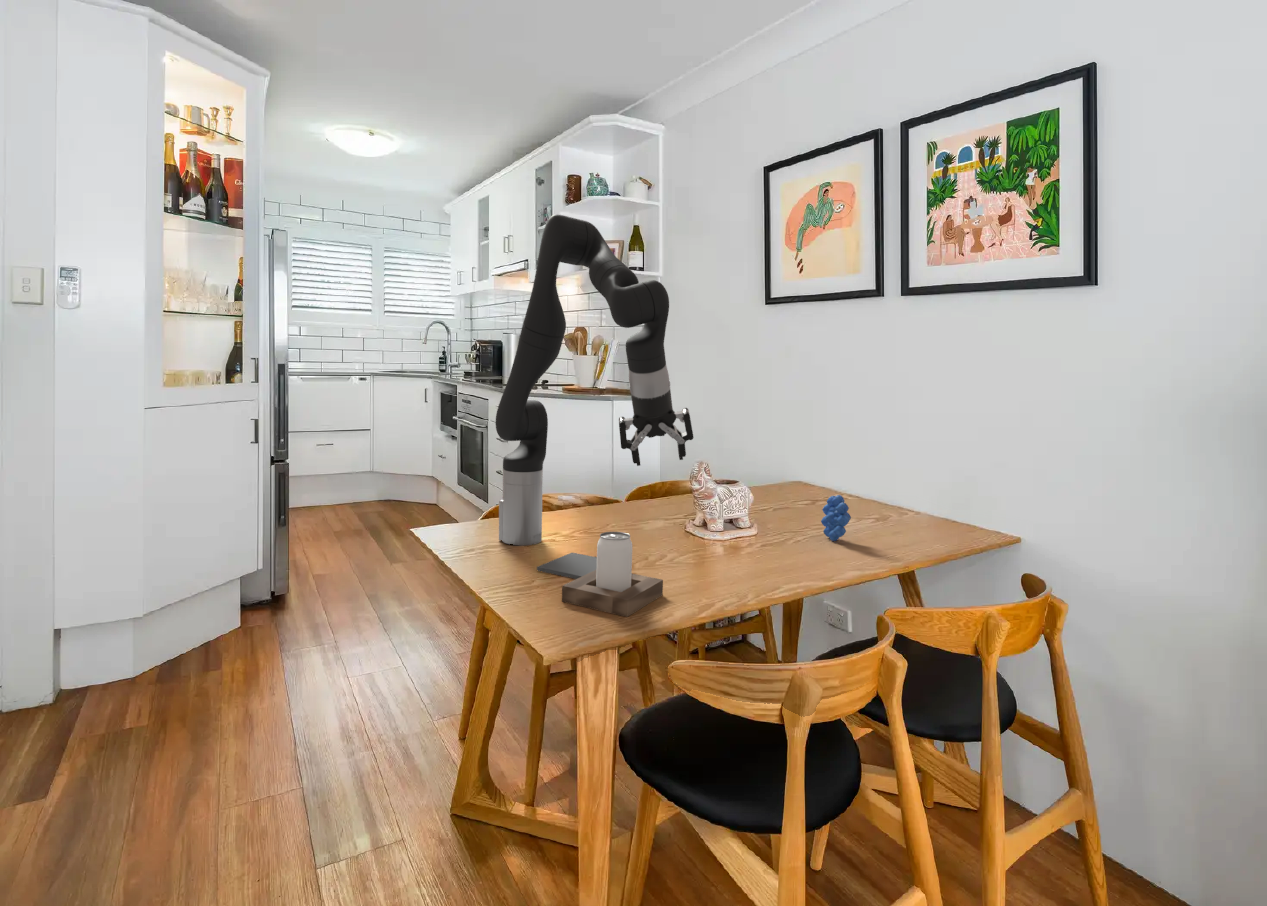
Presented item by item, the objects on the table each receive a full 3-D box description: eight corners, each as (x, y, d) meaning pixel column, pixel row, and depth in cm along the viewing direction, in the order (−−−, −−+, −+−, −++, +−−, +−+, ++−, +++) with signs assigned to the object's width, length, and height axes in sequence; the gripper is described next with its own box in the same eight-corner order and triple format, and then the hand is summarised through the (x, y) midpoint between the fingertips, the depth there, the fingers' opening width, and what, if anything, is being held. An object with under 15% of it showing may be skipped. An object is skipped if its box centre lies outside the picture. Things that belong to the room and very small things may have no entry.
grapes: (860, 547, 176) (864, 498, 175) (834, 547, 175) (838, 498, 173) (839, 534, 188) (842, 489, 186) (814, 535, 186) (817, 489, 185)
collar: (561, 601, 131) (562, 585, 131) (601, 581, 143) (601, 567, 143) (627, 616, 125) (627, 600, 125) (662, 594, 137) (663, 579, 136)
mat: (536, 570, 149) (536, 566, 149) (571, 555, 160) (572, 552, 160) (590, 582, 143) (590, 578, 143) (622, 566, 154) (623, 562, 154)
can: (609, 590, 139) (611, 529, 137) (637, 597, 135) (639, 535, 133) (588, 599, 133) (590, 535, 132) (617, 607, 130) (619, 541, 128)
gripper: (685, 374, 139) (692, 446, 148) (612, 384, 140) (623, 456, 148) (689, 391, 133) (697, 465, 141) (613, 401, 133) (624, 475, 142)
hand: (659, 460), depth 145 cm, fingers open, 8 cm apart
